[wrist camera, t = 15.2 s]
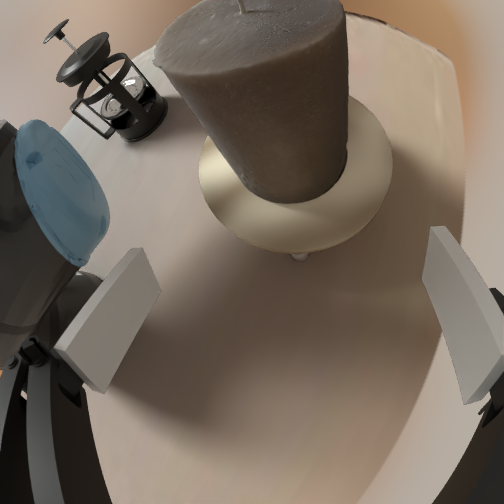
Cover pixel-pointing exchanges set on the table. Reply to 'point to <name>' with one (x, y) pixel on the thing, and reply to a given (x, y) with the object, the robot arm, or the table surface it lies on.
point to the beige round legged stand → (311, 212)
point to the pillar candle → (266, 89)
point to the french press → (110, 88)
